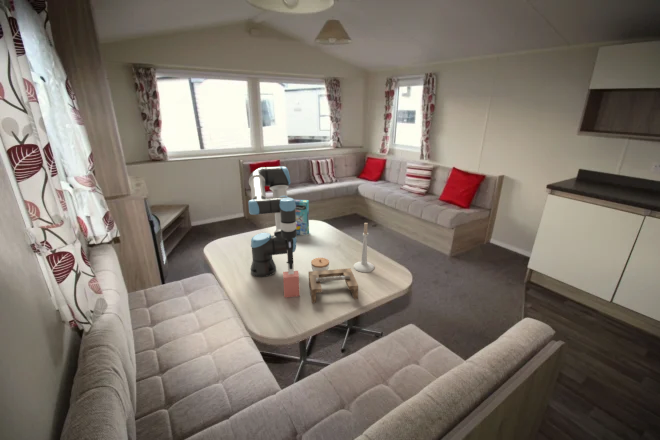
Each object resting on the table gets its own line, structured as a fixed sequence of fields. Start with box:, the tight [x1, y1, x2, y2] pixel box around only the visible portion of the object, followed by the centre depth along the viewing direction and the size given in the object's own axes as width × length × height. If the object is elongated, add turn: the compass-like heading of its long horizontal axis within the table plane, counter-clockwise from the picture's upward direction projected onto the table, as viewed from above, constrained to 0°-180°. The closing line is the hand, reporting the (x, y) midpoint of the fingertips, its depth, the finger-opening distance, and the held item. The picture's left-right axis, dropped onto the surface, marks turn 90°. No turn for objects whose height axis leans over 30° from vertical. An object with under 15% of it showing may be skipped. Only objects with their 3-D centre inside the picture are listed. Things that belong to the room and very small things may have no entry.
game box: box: [294, 199, 310, 236], centre depth 237 cm, size 20×6×27 cm, turn 81°
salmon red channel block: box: [282, 270, 300, 298], centre depth 162 cm, size 8×6×12 cm
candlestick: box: [353, 222, 375, 273], centre depth 186 cm, size 13×13×30 cm
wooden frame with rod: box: [308, 267, 359, 304], centre depth 165 cm, size 24×18×10 cm
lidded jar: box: [310, 257, 330, 271], centre depth 183 cm, size 11×11×9 cm
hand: (290, 267), depth 158 cm, fingers open, 13 cm apart
